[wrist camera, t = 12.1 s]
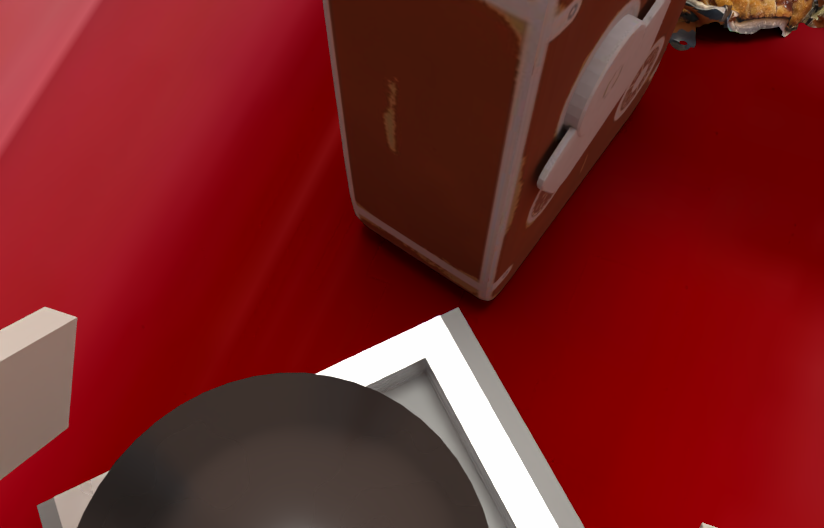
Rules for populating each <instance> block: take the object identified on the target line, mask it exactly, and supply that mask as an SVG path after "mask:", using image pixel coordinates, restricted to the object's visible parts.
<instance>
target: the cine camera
mask: <svg viewBox="0 0 824 528" xmlns="http://www.w3.org/2000/svg"><path fill="white" fill-rule="evenodd" d="M686 1H687V0H323V7H324V14H325V21H326V29H327V36H328V43H329V50H330V58H331V65H332V72H333V79H334V87H335V94H336V101H337V108H338V116H339V123H340V130H341V137H342V144H343V152H344V159H345V165H346V172H347V178H348V184H349V191H350V196H351V200H352V203H353V207H354V211H355V214H356V215H357V217H358V218H359V219H360V220H361V221H362V222H363V223H364V224H365V225H366V226H367V227H368V228H370V229H371V230H373V231H374V232H376V233H377V234H379V235H380V236H382V237H384V238H385V239H387V240H388V241H390V242H391V243H393V244H394V245H396V246H397V247H399V248H401V249H402V250H404V251H405V252H407V253H408V254H410V255H411V256H413V257H414V258H416V259H417V260H419V261H421V262H422V263H424V264H425V265H427V266H428V267H430V268H431V269H433V270H434V271H436V272H438V273H439V274H441V275H442V276H444V277H445V278H447V279H448V280H450V281H451V282H453V283H455V284H456V285H458V286H459V287H461V288H462V289H464V290H466V291H467V292H469V293H471V294H472V295H474V296H476V297H477V298H479V299H482V300H486V301H489V300H492V299H493V298H495V297H496V296H497V295H498V294H499V293H500V291H501V290H502V289H503V288H504V286H505V285H506V284H507V282H508V281H509V280H510V279H511V277H512V276H513V275H514V273H515V272H516V271H517V269H518V268H519V266H520V265H521V264H522V262H523V261H524V260H525V258H526V257H527V256H528V254H529V253H530V251H531V250H532V249H533V247H534V246H535V245H536V243H537V242H538V241H539V239H540V238H541V236H542V235H543V234H544V232H545V231H546V230H547V228H548V227H549V226H550V224H551V223H552V221H553V220H554V219H555V217H556V216H557V215H558V213H559V212H560V210H561V209H562V208H563V206H564V205H565V204H566V202H567V201H568V200H569V198H570V197H571V195H572V194H573V193H574V191H575V190H576V189H577V187H578V186H579V185H580V183H581V182H582V180H583V179H584V178H585V176H586V175H587V174H588V172H589V171H590V169H591V168H592V167H593V165H594V164H595V163H596V161H597V160H598V159H599V157H600V156H601V154H602V153H603V152H604V150H605V149H606V148H607V146H608V145H609V144H610V142H611V141H612V139H613V138H614V137H615V135H616V134H617V133H618V131H619V130H620V129H621V127H622V126H623V124H624V123H625V122H626V120H627V119H628V118H629V116H630V115H631V113H632V112H633V110H634V109H635V107H636V106H637V104H638V103H639V101H640V99H641V98H642V96H643V94H644V93H645V91H646V89H647V87H648V85H649V84H650V82H651V80H652V78H653V75H654V73H655V71H656V69H657V67H658V65H659V62H660V60H661V58H662V56H663V54H664V52H665V49H666V47H667V45H668V42H669V40H670V38H671V35H672V33H673V31H674V29H675V26H676V24H677V22H678V19H679V17H680V15H681V12H682V10H683V8H684V5H685V3H686Z"/></svg>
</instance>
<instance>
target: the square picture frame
mask: <svg viewBox="0 0 824 528" xmlns="http://www.w3.org/2000/svg"><path fill="white" fill-rule="evenodd" d="M424 373H425V374H426V376H427V378H428V379H429V381H430V383H431V385H432V387H433V389H434V391H435V393H436V395H437V396H438V398H439V400H440V402H441V404H442V406H443V408H444V410H445V411H446V413H447V415H448V417H449V419H450V421H451V423H452V425H453V427H454V428H455V430H456V432H457V434H458V436H459V438H460V440H461V442H462V444H463V445H464V447H465V449H466V451H467V453H468V455H469V457H470V459H471V461H472V462H473V464H474V466H475V468H476V470H477V472H478V474H479V476H480V477H481V479H482V481H483V483H484V485H485V487H486V489H487V491H488V493H489V494H490V496H491V498H492V500H493V502H494V504H495V506H496V508H497V510H498V511H499V513H500V515H501V517H502V519H503V521H504V523H505V525H506V527H507V528H558V526H557V524H556V523H555V521H554V519H553V517H552V515H551V514H550V512H549V510H548V508H547V506H546V505H545V503H544V501H543V499H542V497H541V496H540V494H539V492H538V490H537V488H536V487H535V485H534V483H533V481H532V479H531V478H530V476H529V474H528V472H527V471H526V469H525V467H524V465H523V463H522V462H521V460H520V458H519V456H518V454H517V453H516V451H515V449H514V447H513V445H512V444H511V442H510V440H509V438H508V436H507V435H506V433H505V431H504V429H503V428H502V426H501V424H500V422H499V420H498V419H497V417H496V415H495V413H494V411H493V410H492V408H491V406H490V404H489V402H488V401H487V399H486V397H485V395H484V393H483V392H482V390H481V388H480V386H479V385H478V383H477V381H476V379H475V377H474V376H473V374H472V372H471V370H470V368H469V367H468V365H467V363H466V361H465V359H464V358H463V356H462V354H461V352H460V350H459V349H458V347H457V345H456V343H455V342H454V340H453V338H452V336H451V334H450V333H449V331H448V329H447V327H446V325H445V324H444V322H443V320H442V318H441V316H438V317H435V318H433V319H431V320H429V321H427V322H425V323H423V324H421V325H418V326H416V327H414V328H412V329H410V330H408V331H406V332H404V333H401V334H399V335H397V336H395V337H393V338H391V339H389V340H387V341H384V342H382V343H380V344H378V345H376V346H374V347H372V348H370V349H367V350H365V351H363V352H361V353H359V354H357V355H355V356H353V357H350V358H348V359H346V360H344V361H342V362H340V363H338V364H336V365H333V366H331V367H329V368H327V369H325V370H323V371H321V372H319V373H316V374H319V375H327V376H333V377H336V378H340V379H344V380H348V381H352V382H356V383H358V384H361V385H363V386H366V387H368V388H371V389H373V390H376V391H378V392H380V393H384V392H386V391H388V390H391V389H393V388H395V387H397V386H399V385H401V384H403V383H405V382H407V381H409V380H411V379H413V378H415V377H417V376H419V375H421V374H424ZM108 472H109V471H108ZM108 472H106V473H104V474H102V475H100V476H97V477H95V478H93V479H91V480H89V481H87V482H85V483H83V484H80V485H78V486H76V487H74V488H72V489H70V490H68V491H66V492H63V493H61V494H59V495H57V496H55V497H54V500H55V503H56V507H57V510H58V514H59V517H60V521H61V524H62V527H63V528H77V527H78V524H79V522H80V520H81V517H82V515H83V513H84V511H85V509H86V507H87V505H88V504H89V502H90V500H91V498H92V496H93V495H94V493H95V491H96V489H97V488H98V486H99V484H100V483H101V482H102V480H103V479H104V478H105V476H106V475H107V473H108Z"/></svg>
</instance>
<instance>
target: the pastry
mask: <svg viewBox="0 0 824 528" xmlns="http://www.w3.org/2000/svg"><path fill="white" fill-rule="evenodd" d="M711 22H719V23H720V25H724V28H729V31H734V32H738V33H740V34H754V33H755V32H757V31H758V30H760V29H768V28H775V27H780V28H781V30H782V31H783V32H782V36H783V37H786V36H787V35H788V34H790V33H791V31H793V30H797V27H798V24H799V23H800V22H803V23H805V24H806V25H807V26H809V27H813V28H820V27H822V28H823V27H824V0H687V1H686V3H685V5H684V8H683V10H682V12H681V15H680V17H679V19H678V22H677V24H676V26H675V29H674V31H673V33H672V35H671V38H670V40H669V43H670V44H671V45H672V46H673V47H674V48H675V49H677V50H687V49H689V47H694V46H695V45H696V40H695V34H696V27H700V26H702V25H703V24H709V23H711ZM786 25H787V26H788V27H787V26H786ZM679 41H686V42H687V43H688V45H681V44H680V43H679ZM665 51H666V49H665Z"/></svg>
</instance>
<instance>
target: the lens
mask: <svg viewBox="0 0 824 528" xmlns="http://www.w3.org/2000/svg"><path fill="white" fill-rule="evenodd" d="M77 528H489V526H488V523H487V520H486V517H485V513H484V510H483V507H482V505H481V503H480V501H479V498H478V496H477V494H476V492H475V489H474V487H473V485H472V483H471V481H470V479H469V478H468V476H467V474H466V473H465V471H464V469H463V468H462V466H461V464H460V463H459V461H458V460H457V458H456V457H455V456H454V454H453V453H452V452H451V451H450V449H449V448H448V447H447V446H446V444H445V443H444V442H443V441H442V439H441V438H440V437H439V436H438V435H437V434H436V433H435V432H434V431H433V430H432V429H431V428H430V427H429V426H428V425H427V424H426V423H425V422H424V421H422V420H421V419H420V418H419V417H417V416H416V415H415V414H413V413H412V412H411V411H409V410H408V409H407V408H405V407H404V406H403V405H401V404H400V403H398V402H396V401H394V400H393V399H391V398H389V397H387V396H385V395H384V394H382V393H380V392H378V391H376V390H373V389H371V388H368V387H366V386H363V385H361V384H358V383H356V382H352V381H348V380H344V379H340V378H336V377H333V376H327V375H319V374H310V373H276V374H268V375H261V376H254V377H250V378H246V379H242V380H238V381H234V382H230V383H227V384H225V385H222V386H220V387H217V388H214V389H212V390H209V391H207V392H204V393H202V394H200V395H198V396H197V397H195V398H193V399H191V400H189V401H187V402H185V403H184V404H182V405H180V406H178V407H177V408H175V409H174V410H173V411H171V412H170V413H168V414H167V415H165V416H164V417H162V418H161V419H160V420H158V421H157V422H156V423H154V424H153V425H152V426H151V427H150V428H149V429H148V430H147V431H145V432H144V433H143V434H142V435H141V436H140V437H139V438H137V439H136V440H135V441H134V442H133V443H132V445H131V446H130V447H129V448H128V449H127V450H126V451H125V452H124V453H123V454H122V456H121V457H120V458H119V459H118V460H117V461H116V462H115V464H114V465H113V466H112V468H111V469H110V471H109V472H108V473H107V475H106V476H105V478H104V479H103V480H102V482H101V483H100V484H99V486H98V488H97V489H96V491H95V493H94V495H93V496H92V498H91V500H90V502H89V504H88V505H87V507H86V509H85V511H84V513H83V515H82V517H81V520H80V522H79V524H78V527H77Z"/></svg>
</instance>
